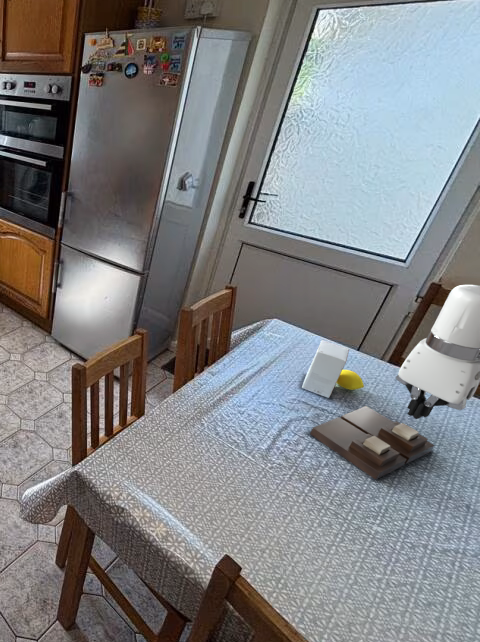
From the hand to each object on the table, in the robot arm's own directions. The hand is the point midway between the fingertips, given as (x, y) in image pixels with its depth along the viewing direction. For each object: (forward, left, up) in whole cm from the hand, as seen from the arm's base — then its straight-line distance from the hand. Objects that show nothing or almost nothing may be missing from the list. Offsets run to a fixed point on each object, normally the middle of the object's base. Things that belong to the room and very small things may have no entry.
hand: (415, 414), depth 89 cm
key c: (+2, -8, -11) cm, 14 cm away
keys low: (+5, -8, -15) cm, 18 cm away
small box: (+23, -13, -15) cm, 31 cm away
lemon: (+20, -20, -15) cm, 32 cm away
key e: (+2, +3, -11) cm, 12 cm away
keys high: (+5, +3, -15) cm, 16 cm away
